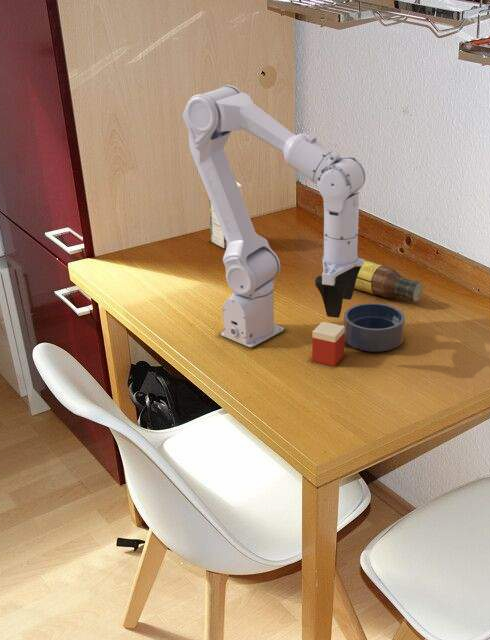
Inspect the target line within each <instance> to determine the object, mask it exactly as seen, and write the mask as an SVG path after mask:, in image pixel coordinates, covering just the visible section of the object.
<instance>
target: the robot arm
mask: <svg viewBox="0 0 490 640" xmlns="http://www.w3.org/2000/svg"><path fill="white" fill-rule="evenodd" d="M182 118H183V121H184V124H185V127H186V128H187V131H188V146H189V147H188V148H189V151H190V154H191V156H192V158H193V161H194V164H195V167H196V168H197V171H198V173H199V176H200V179H201V181H202V183H203V184H202V185H203V186H204V189H205V192H206V194H207V196H208V200H209V199H210V201H211V204H212V206H213V209H214V211H215V214H216V216H217V219H218V221H219V224H220V227H221V229H222V232H223V234H224V237H225V239H226V242H227V248H225V251H224V254H223V257H222V262H223V265H224V267H225V280H226V283H227V285H228V287H229V288H230V290H231V291H232V293H231V295H230V296H229V297H228V298H227V299H225V301H224V302H223V305H222V321H223V331H222V332H220V335H221V336H222V337H224V338H226V339H229V340H231V341H234V342H236V343H238V344H241V345H243V346H245V347H248V348H254V347H256V346H258V345H259V344H261V343H263V342H265V341H267V340H269V339H270V338H273V337H274V336H276V335H278V334H281V333H282V332H284V331H285V328H284V327H283V326H280V325H278V324H276V323H275V301H274V300H275V297H274V296H275V295H274V285H275V278H277V276H278V275H279V274H280V272H281V261H280V259H279V257H278V255H277V254H276V252H275V251H274V250H273V249H272V248H271V246H270V244H269V241H268V239H266V238H265V237H264V236H261V235H259V234H258V233H257V232H256V230H255V228H254V225H253V222H252V219H251V217H250V214H249V211H248V209H247V206H246V204H245V201H244V197H243V198H242V196H241V193H240V190H239V188H238V185H237V183H236V182H237V179H236V178H235V175H234V173H233V169H232V167H231V164H230V161H229V158H228V156H227V154H226V152H225V146H226V144H227V142H228V139H229V138H230V135H231V133H232V132H233V131H241V130H242V131H245V132H247V133H249V134H250V135H252V136H254V137H256V138H257V139H259V140H261V141H262V142H264V143H265V144H268V145H269V146H271V147H273V148H274V149H276V150H278V151H279V152H281V153H282V154H283V158H284V161H285V164H286V165H288V166H289V167H291V168H292V169H293V170H295V171H296V172H298V173H299V174H301V175H302V176H304V177H305V178H307V179H308V180H309V181H311V182H313V183H314V184H315V185H317V186H316V187H317V190H318V192H319V194H320V195H321V197H322V199H323V255H322V269H323V272H322V273H321V275H318V276H317V277H316V278H315V280H314V284H315V287H316V288H317V290H318V291H319V294H320V296H321V299H322V301H323V305H324V309H325V313H326V316H327V317H329V318H335V319H339V318H340V316H341V313H342V308H343V302H344V300H349V301H351V300H352V297H353V295H354V291H355V288H354V287H355V283H356V279H357V276H358V273H359V271H360V269H361V267H362V265H363V264H364V260H365V259H364V258H362V257H359V255H358V246H359V245H358V244H359V215H360V214H359V213H360V206H359V204H360V202H359V201H360V192H359V191H360V190H361V189H362V188H363V187H364V185H365V183H366V171H365V168H364V167H363V165H362V163H360V162H359V160H357V158H356V157H354V156H350V155H347V156H341V154H340V153H339V152H338V151H333V150H331V149H329V148H328V147H327V146H325V145H323V144H322V143H321V142H319V141H318V137H317V136H316V135H314V134H313V133H309V134H307V133H305V132H303V133H298V134H294V133H293V132H292V131H290V129H288V128H286V126H285V125H283V124H281V123H280V122H279V121H277V120H276V119H275V118H273V117H272V116H271V115H270V114H268V113H267V112H266V111H264V110H263V109H262V108H260V107H259V106H258V105H256V103H254V102H253V100H252V98H251V96H250V95H249V94H248V93H245V92H243V91H241V90H240V89H239V88H238V87H236V86H235V85H230V84H226V85H223V86H221V87H220V88H216V89H213V90H211V91H207V92H204V93H198V94H194V95H193V96H191V97H190V98H189V99H188V101H187V103H186V105H185V108H184V111H183V112H182Z"/></svg>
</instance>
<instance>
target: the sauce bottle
mask: <svg viewBox="0 0 490 640" xmlns="http://www.w3.org/2000/svg"><path fill="white" fill-rule="evenodd" d="M354 290H357V291H358V290H359V291H363V292H365V293H369V294H372V295H375V296H379V297H382V298H383V297H384V298H387V299H389V298H393V297H401V298H405V299H408V300H409V302H410V301H412V302H418V301H419V300H420V298H421V296H422V294H423V292H424V285H423V283H422V282H420V281H418V280H412V279H408V278H406V277H403V276H402V275H401V274H399V272H398V271H397V270H395V269H393V268H391V267H388V266H385V265H382V264H379V263H377V262H376V263H375V262H372V261H369V260H365V259H364V264H363V265H362V267H361V269H360V271H359V273H358V276H357V279H356V283H355V287H354Z"/></svg>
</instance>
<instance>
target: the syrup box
mask: <svg viewBox="0 0 490 640" xmlns="http://www.w3.org/2000/svg"><path fill="white" fill-rule="evenodd" d="M236 183H237V185H238V188H239V190H240V193H241V196H242V198H243V199H244V195H243V194H244V193H243V192H244V191H243V184H241V183H240V182H238V181H236ZM208 202H209V203H208V205H209V222H210V225H209V226H210V241H211V243H212V244H215V245H217V246H218V247H220V248H222V249H224V250H226V248H227V242H226V239H225V237H224V234H223V232H222V229H221V227H220V224H219V221H218V219H217V216H216V214H215V211H214V209H213V206H212V204H211V201H210V199H209V198H208Z"/></svg>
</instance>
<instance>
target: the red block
mask: <svg viewBox="0 0 490 640" xmlns="http://www.w3.org/2000/svg"><path fill="white" fill-rule="evenodd" d="M311 337H312V341H311V343H312V349H311V350H312V351H311V352H312V353H311V354H312V355H311V357H312V358H311V361H312V362H313V363H318V364H324V365H327V366H331V367H335V366H336V365H337V364H339V362H340V361H341V360H342V358H344V356H345V340H344V339H345V326H344V325H341V324H336V323H332V322H328V321H321V322H320V323H319V324H318V325H317V326H316V327H315V328H314V329H313V330H312V334H311Z"/></svg>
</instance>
